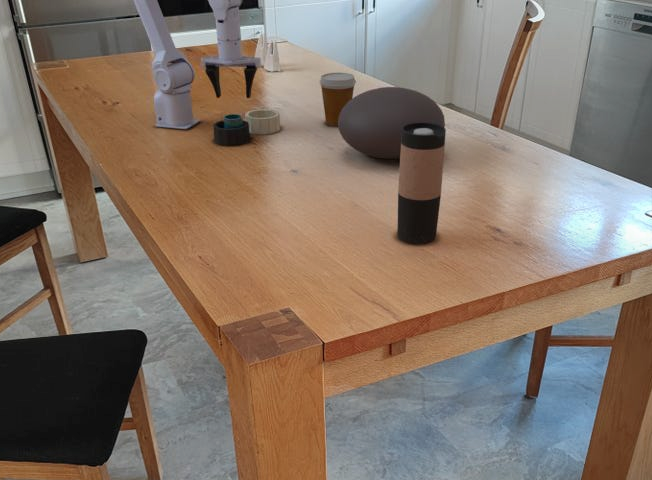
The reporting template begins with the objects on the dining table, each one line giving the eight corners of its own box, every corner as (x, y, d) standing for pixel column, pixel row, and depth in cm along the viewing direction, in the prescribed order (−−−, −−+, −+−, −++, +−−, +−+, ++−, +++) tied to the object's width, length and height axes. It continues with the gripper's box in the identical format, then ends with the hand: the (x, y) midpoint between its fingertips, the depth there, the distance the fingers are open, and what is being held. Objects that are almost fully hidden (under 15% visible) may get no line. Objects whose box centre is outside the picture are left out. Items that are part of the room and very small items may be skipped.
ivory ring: (240, 132, 188) (239, 117, 185) (254, 123, 194) (253, 107, 192) (271, 135, 185) (271, 120, 183) (284, 126, 192) (284, 110, 189)
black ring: (208, 143, 180) (207, 127, 178) (224, 133, 187) (223, 117, 185) (240, 147, 178) (239, 131, 175) (255, 136, 184) (254, 121, 182)
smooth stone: (384, 131, 186) (386, 71, 178) (463, 153, 172) (469, 88, 163) (316, 154, 172) (315, 90, 164) (396, 180, 158) (399, 111, 149)
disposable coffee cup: (352, 129, 189) (352, 81, 182) (316, 127, 190) (315, 80, 183) (357, 118, 196) (358, 72, 189) (323, 117, 198) (323, 71, 191)
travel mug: (392, 229, 137) (397, 122, 126) (432, 227, 137) (440, 121, 126) (399, 246, 131) (405, 136, 119) (441, 244, 131) (451, 134, 120)
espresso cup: (222, 142, 181) (220, 118, 177) (230, 137, 184) (228, 113, 181) (239, 144, 180) (237, 120, 176) (247, 138, 183) (245, 114, 180)
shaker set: (253, 66, 249) (251, 31, 243) (264, 64, 251) (262, 30, 244) (271, 73, 241) (269, 37, 234) (281, 71, 242) (280, 35, 236)
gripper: (195, 42, 171) (201, 100, 178) (255, 42, 169) (259, 101, 177) (202, 36, 176) (208, 93, 184) (261, 36, 175) (264, 94, 183)
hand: (233, 97), depth 181 cm, fingers open, 7 cm apart
